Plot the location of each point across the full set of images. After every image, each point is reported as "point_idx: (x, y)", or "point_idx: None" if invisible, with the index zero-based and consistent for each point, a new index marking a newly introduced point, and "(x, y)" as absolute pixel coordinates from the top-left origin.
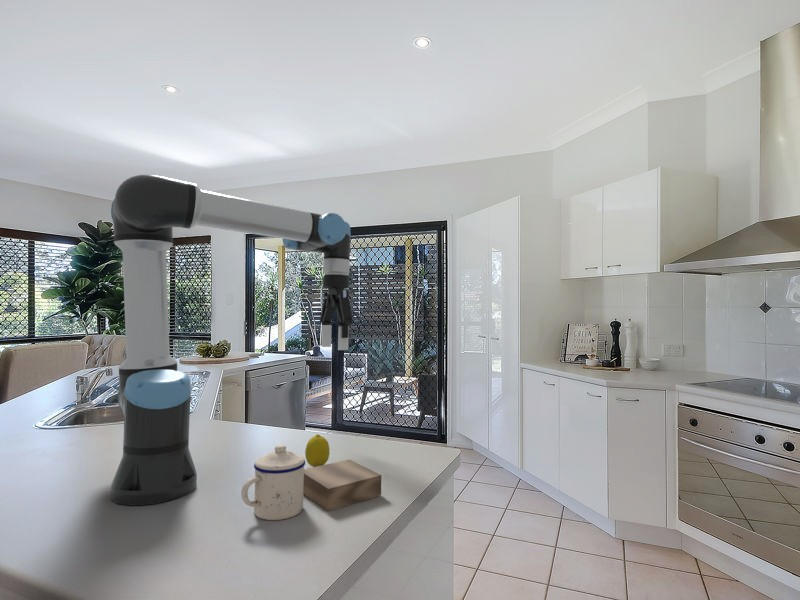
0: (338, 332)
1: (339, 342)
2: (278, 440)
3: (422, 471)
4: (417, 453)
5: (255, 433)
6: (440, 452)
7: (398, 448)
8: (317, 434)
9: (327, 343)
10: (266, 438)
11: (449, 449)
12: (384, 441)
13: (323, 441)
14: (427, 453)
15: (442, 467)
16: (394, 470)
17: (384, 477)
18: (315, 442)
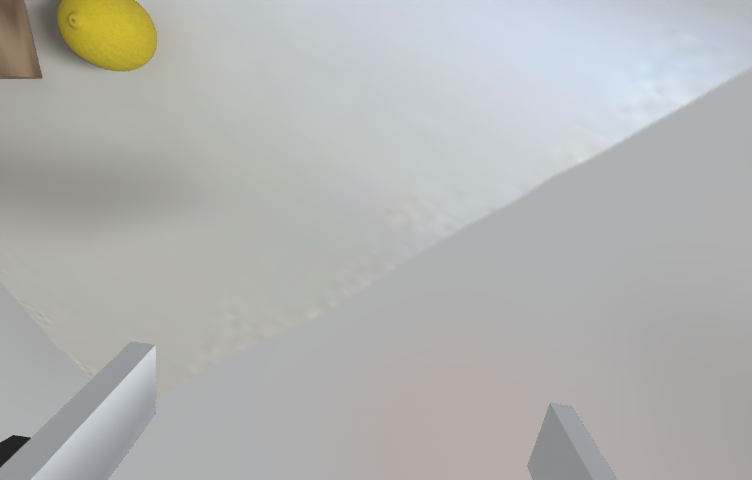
0: (34, 471)
1: (86, 386)
2: (476, 70)
3: (18, 254)
4: (144, 326)
5: (613, 36)
6: None
7: (204, 315)
8: (76, 19)
9: (547, 464)
10: (525, 44)
11: None
12: (280, 323)
13: (61, 31)
14: None
15: (25, 306)
16: (50, 205)
17: (13, 156)
18: (61, 1)
